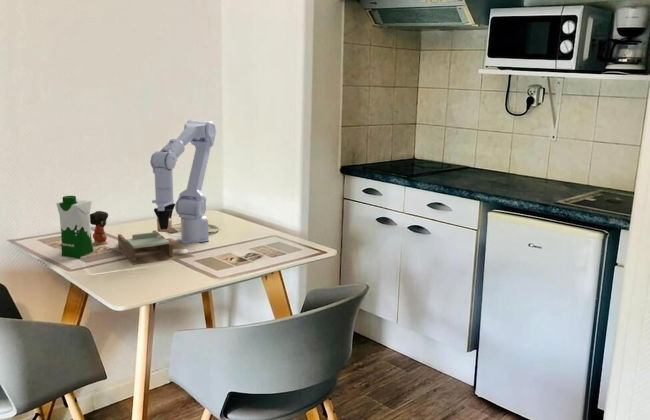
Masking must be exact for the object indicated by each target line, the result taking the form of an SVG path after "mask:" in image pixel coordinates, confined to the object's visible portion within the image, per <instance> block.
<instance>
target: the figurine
mask: <svg viewBox="0 0 650 420" xmlns="http://www.w3.org/2000/svg"><path fill="white" fill-rule="evenodd" d="M108 218H109V213H108V212H106V211H102V210H97V211H95V212H92V213H90V225H92V226H95V227H94V230H93V232H94V233H93V234H92V238H93V244H94V245H95V246H104V245H107V244H108V242H107V237H108V236H107V235H106V231H105V229H104V228H105V227H106V226H107V219H108Z"/></svg>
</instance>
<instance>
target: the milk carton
mask: <svg viewBox="0 0 650 420" xmlns="http://www.w3.org/2000/svg"><path fill="white" fill-rule="evenodd" d="M55 204H56V207H57V211H58V214H59V222H60V223H59V224H60V226H59V227H60V238H61V240H60V241H61V256H62V257H66V258H73V259H82V258H81V257H83V256H86V255H89V254H91V253H94V246H93V241H92V229H91V228H92V227H91V223H90V214H91V208H92V200H86V199H77V196H75V195H65V196H62V201H60V202H56V203H55Z"/></svg>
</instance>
